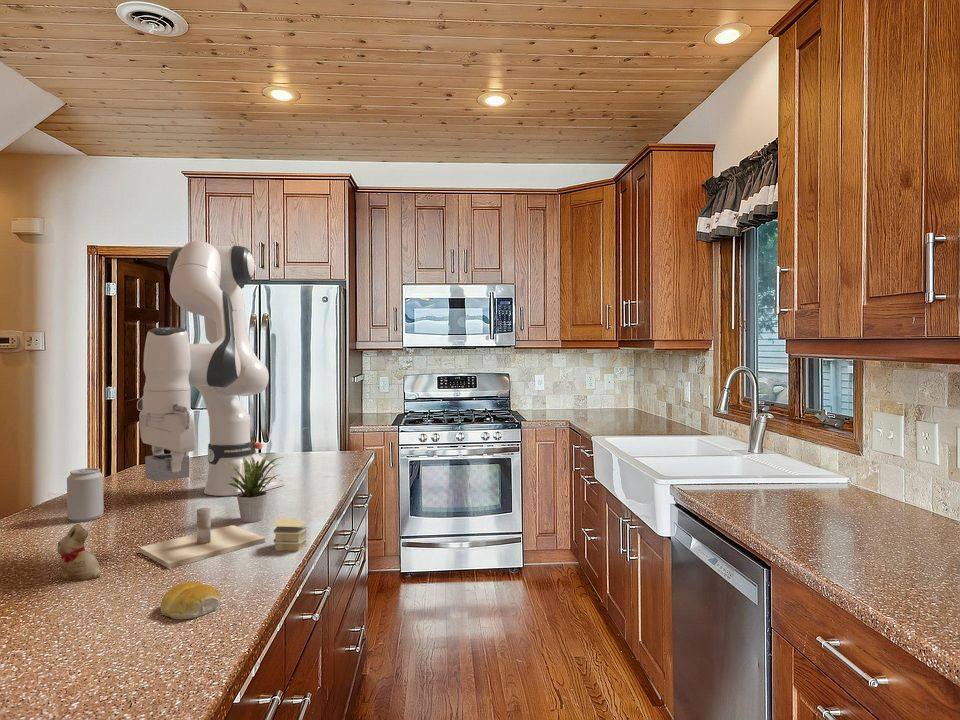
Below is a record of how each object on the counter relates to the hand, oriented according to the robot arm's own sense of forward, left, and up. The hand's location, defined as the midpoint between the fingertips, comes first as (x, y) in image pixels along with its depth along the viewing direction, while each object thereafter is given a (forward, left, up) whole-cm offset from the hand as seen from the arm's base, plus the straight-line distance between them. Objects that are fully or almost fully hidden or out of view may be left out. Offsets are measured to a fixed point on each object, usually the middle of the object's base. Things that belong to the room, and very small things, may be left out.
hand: (167, 468), depth 125 cm
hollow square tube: (0, 0, -2) cm, 2 cm away
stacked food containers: (-16, +20, -17) cm, 31 cm away
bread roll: (+10, +34, -17) cm, 39 cm away
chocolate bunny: (+17, +4, -17) cm, 25 cm away
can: (+4, -37, -17) cm, 40 cm away
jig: (-5, +6, -17) cm, 18 cm away
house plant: (-23, -4, -17) cm, 28 cm away
